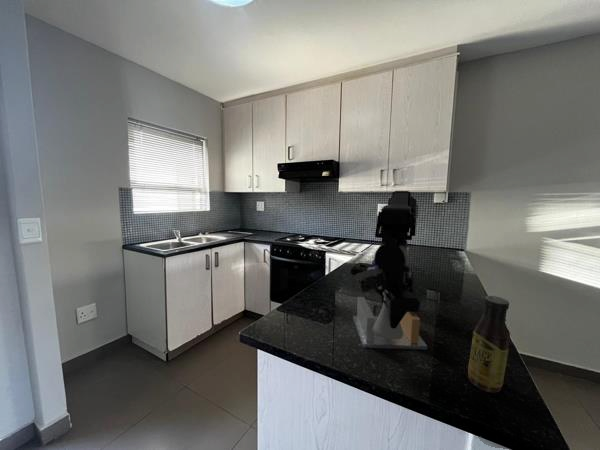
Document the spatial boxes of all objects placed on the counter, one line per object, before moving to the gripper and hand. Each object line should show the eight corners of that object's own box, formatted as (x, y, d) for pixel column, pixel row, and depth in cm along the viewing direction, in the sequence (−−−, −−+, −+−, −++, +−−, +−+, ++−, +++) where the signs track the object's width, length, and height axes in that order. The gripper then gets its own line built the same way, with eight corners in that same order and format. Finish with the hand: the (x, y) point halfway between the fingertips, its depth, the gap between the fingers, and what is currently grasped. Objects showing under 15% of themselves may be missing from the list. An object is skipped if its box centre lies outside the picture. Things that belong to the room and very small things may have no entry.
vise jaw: (399, 318, 82) (401, 294, 81) (418, 343, 68) (420, 315, 67) (393, 317, 82) (395, 294, 81) (410, 343, 68) (412, 315, 67)
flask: (406, 342, 57) (409, 300, 56) (373, 338, 59) (375, 297, 58) (400, 326, 64) (403, 289, 63) (371, 323, 66) (373, 286, 65)
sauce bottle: (460, 374, 58) (468, 292, 55) (485, 373, 58) (494, 291, 56) (483, 397, 51) (493, 305, 49) (511, 395, 52) (523, 304, 50)
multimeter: (358, 268, 141) (358, 259, 140) (393, 274, 132) (394, 265, 131) (350, 275, 130) (350, 265, 129) (389, 281, 120) (389, 271, 120)
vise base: (404, 319, 83) (406, 296, 82) (427, 349, 67) (429, 321, 66) (353, 318, 84) (354, 295, 83) (363, 347, 68) (364, 319, 67)
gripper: (352, 250, 69) (350, 304, 71) (367, 271, 50) (364, 344, 52) (393, 251, 68) (390, 305, 70) (424, 273, 50) (418, 345, 52)
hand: (389, 322), depth 61 cm, fingers closed on flask, 5 cm apart
